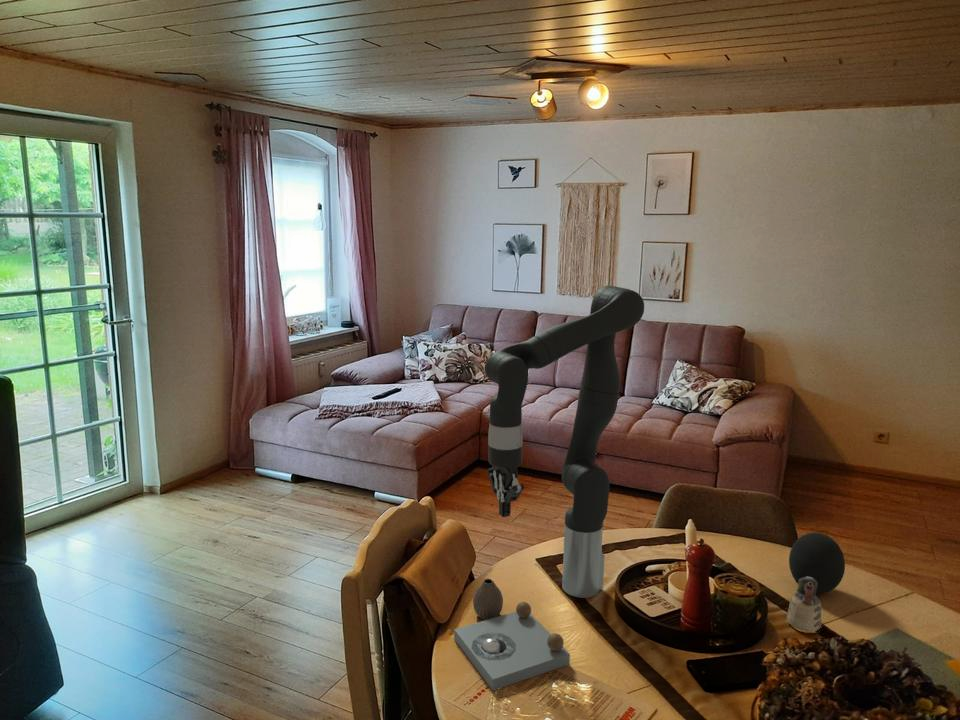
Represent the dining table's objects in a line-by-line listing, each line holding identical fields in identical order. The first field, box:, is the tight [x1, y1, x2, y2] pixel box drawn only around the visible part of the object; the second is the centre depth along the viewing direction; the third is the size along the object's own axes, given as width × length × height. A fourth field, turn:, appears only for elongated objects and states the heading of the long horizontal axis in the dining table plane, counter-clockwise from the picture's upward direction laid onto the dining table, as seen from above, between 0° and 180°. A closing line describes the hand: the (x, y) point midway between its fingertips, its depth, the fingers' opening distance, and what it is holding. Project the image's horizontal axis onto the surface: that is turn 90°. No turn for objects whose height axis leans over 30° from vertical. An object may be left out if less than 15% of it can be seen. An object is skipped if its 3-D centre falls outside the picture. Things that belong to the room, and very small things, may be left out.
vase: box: [472, 578, 504, 621], centre depth 155 cm, size 7×7×9 cm
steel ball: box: [482, 638, 501, 654], centre depth 141 cm, size 4×4×4 cm
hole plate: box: [453, 611, 571, 691], centre depth 143 cm, size 18×18×2 cm
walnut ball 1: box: [515, 601, 532, 618], centre depth 151 cm, size 3×3×3 cm
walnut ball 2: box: [547, 632, 565, 651], centre depth 140 cm, size 3×3×3 cm
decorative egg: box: [788, 532, 846, 595], centre depth 167 cm, size 12×12×15 cm
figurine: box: [786, 577, 823, 631], centre depth 153 cm, size 7×7×12 cm
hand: (504, 515), depth 152 cm, fingers closed
